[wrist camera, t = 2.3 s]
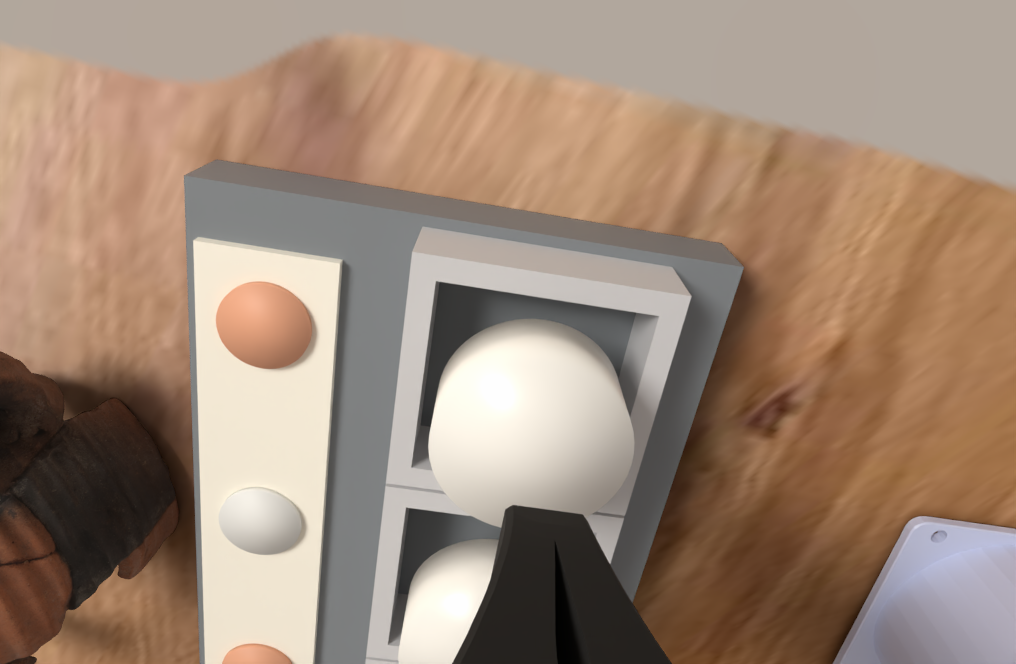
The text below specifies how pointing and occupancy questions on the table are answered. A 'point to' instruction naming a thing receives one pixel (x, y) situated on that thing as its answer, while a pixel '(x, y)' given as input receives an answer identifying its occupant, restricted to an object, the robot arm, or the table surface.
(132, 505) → the brown broken pot
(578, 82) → the table surface
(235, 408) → the button board
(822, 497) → the table surface
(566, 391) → the button
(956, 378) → the table surface
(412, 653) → the button middle
